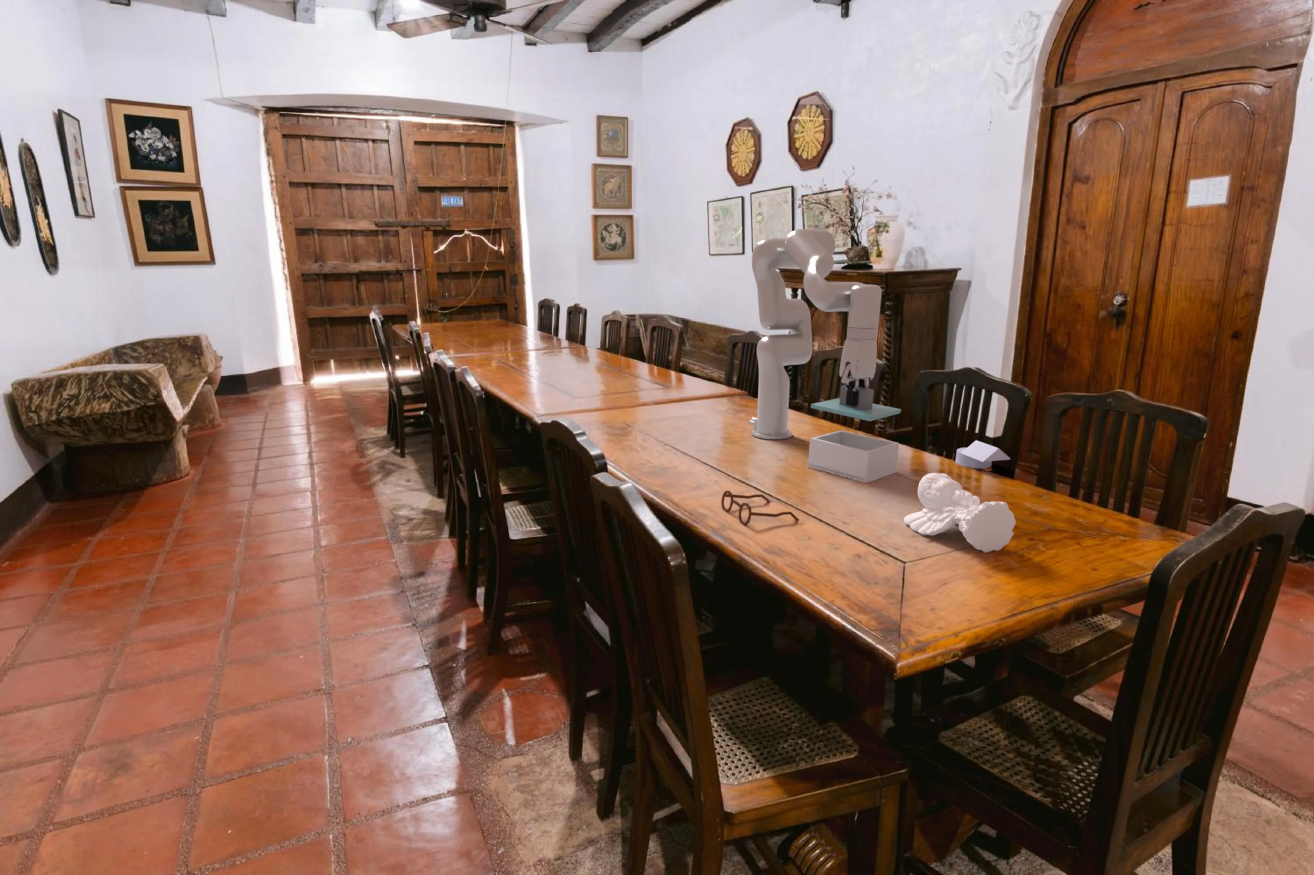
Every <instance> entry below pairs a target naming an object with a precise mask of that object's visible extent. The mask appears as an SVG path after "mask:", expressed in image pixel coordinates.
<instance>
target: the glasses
mask: <svg viewBox="0 0 1314 875" xmlns="http://www.w3.org/2000/svg"><path fill="white" fill-rule="evenodd" d="M725 498H730V503H729V507H728V508H726V507H725ZM754 498H762V499H763V500H765V501H766V502H767V501H769V500H770V499H769V498H767V497H766V496H765V495H763V494H751V495H745V494H743V495H742V494H733V493H732V492H731V491H730V490H725V491H724V492H723V493H722V496H721V503H720V505H721V509H722V511H724V512H725V513H728V512H730V511H731V510H732V507H733V505H734V504H735V505H736V506H737V507H738V508H739V510H738V521H739V523H740V524H741V525H743V526H747V525H749V524H750V521H751V518H752V516H755V517H756V516H758V517H769V518H770V517H771V518H778V517H780V516H785V515H786V516H787V515H789V516H791V518H793V519H794V520H795V521H799V520H798V519H799V518H798V517H797V516H796V515H795V514H794V513H793V512H792V511H782V512H778V513H766V512H754V511H752V508H751V505H750V504H749V503H748V502H743V503H740V502H738V501H737V500H735V499H745V500H746V499H748V500H749V499H754ZM744 507H746V508H747V509H748V515H747V519H746V521H745V522H744V521H743V518H742V512H743V508H744Z"/></svg>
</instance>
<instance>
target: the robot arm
mask: <svg viewBox="0 0 1314 875" xmlns="http://www.w3.org/2000/svg"><path fill="white" fill-rule="evenodd" d="M835 250H836V241H835V237H834V236H833V234H832V233H831V232H830V231H828V230H827V229H823V228H821V229H820V228H819V229H818V228H813V229H812V228H799V229H795V230H792V231H790V233H788V234H787V235H786V237H785V238H782V237H781V238H779V237H778V238H777V237H776V238H775V237H774V238H773V237H772V238H766V239H763V240H760V241H758V242H757V243H756V245H755V246H754V248H753V251H752V255H751V267H752V272H753V276H754V280H755V283H756V288H757V303H758V317H759V322H760V326H761V327H762V329H764V330H766V331H789V333H788V334H787V333H786V334H785V333H780V334H770V335H766V336H764V337H762V338H761V339H759V341H758V342H757V344H756V358H757V363H758V364H757V365H758V390H757V392H758V394H757V397H758V398H757V411H756V412H757V416H756V417H752V418H750V419H749V421H748V424H749V425H752V426H754V427H753V429H752V430H751V435H752V436H754V437H756V438H758V439H759V438H760V439H764V440H784V439H789V438H791V437H792V435H793V432H792V431H791V430H790V429H788V421H789V419H788V418H789V402H790V401H789V400H790V399H789V398H790V381H791V380H790V377H789V375H788V373H787V371H786V369H785V366H791V365H792V366H793V365H795V366H796V365H802V364H803V365H804V364H806V363H808V362H809V361H810V359H811V358H812V355H813V349H814V348H813V334H812V333H813V332H812V330H813V329H812V319H811V311H810V308H809V306H808V304H807V302H805V301H804V300H803V299H800V298H787V294H786V283H785V281H784V279H783V276H782V275H781V274H780V273H779V271H778V270H777V268H779V269H780V268H781V269H783V268H785V269H787V268H788V269H789V268H793V269H795V268H797V269H800V270H801V271H802V273H804V275H803V280H802V281H803V289H804V293H805V295H806V297H807V298H808V299H809V301H810V303H812V304H813V305H814V306H815V308H817V309H818V310H819V311H822V312H826V313H827V312H828V313H829V312H848V317H847V318H848V319H847V328H846V330H847V331H846V339H845V340H844V344H843V348H842V353H841V358H840V363H839V364H840V366H839V372H838V373H839V375H838V376H839V377H840V378H841V380H840V382H841V383H842V384H843V385H845V386H846V390H847V395H846V405H850V406H854V407H856V406H857V404H858V394H859V391H857V388H858V387H862V388H867V389H869V386H870V382H871V381H872V380H873V379H874V378H875V373H876V369H877V362H878V361H877V360H878V358H877V357H878V346H877V344H878V342H877V341H878V333H879V324H880V314H881V304H882V303H881V302H882V288H881V287H880V285H876V284H865V283H863V282H858V281H827V280H826V279H825V278H826V277H828V275H830V273H831V272H832V270H833V268H834V265H835V261H834V260H835V258H834V257H833V255H834V253H835Z"/></svg>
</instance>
